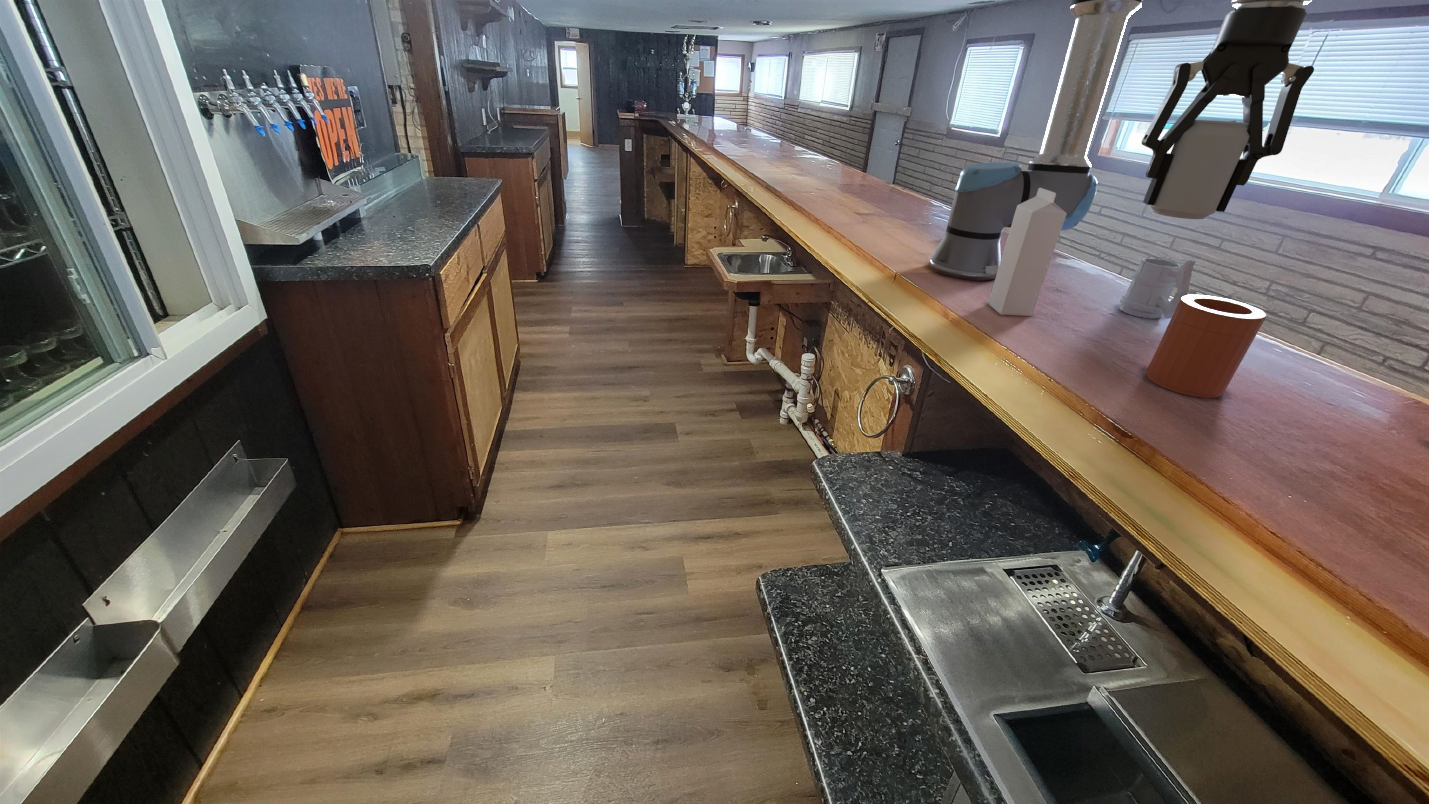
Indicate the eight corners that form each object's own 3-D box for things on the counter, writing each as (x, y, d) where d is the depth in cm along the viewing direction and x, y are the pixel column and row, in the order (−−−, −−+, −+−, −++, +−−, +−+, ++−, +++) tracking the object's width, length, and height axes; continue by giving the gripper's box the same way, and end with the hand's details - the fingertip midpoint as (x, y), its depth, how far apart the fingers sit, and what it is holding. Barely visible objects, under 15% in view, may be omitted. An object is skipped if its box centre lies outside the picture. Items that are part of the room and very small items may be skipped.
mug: (1143, 305, 114) (1169, 246, 108) (1190, 327, 104) (1221, 264, 98) (1108, 305, 114) (1132, 245, 108) (1151, 327, 104) (1181, 263, 98)
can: (1153, 208, 84) (1190, 117, 78) (1216, 216, 79) (1260, 121, 73) (1140, 213, 79) (1178, 118, 73) (1206, 223, 74) (1252, 122, 69)
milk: (1000, 315, 106) (1038, 192, 95) (987, 304, 111) (1021, 186, 100) (1032, 316, 106) (1073, 194, 95) (1017, 305, 111) (1055, 187, 100)
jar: (1139, 364, 89) (1173, 290, 83) (1210, 376, 86) (1250, 301, 80) (1154, 389, 81) (1192, 310, 75) (1232, 403, 78) (1279, 323, 72)
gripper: (1175, 4, 68) (1103, 202, 79) (1397, 3, 61) (1284, 220, 72) (1160, 12, 74) (1095, 195, 85) (1360, 12, 67) (1261, 211, 78)
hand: (1182, 206), depth 78 cm, fingers closed on can, 7 cm apart
